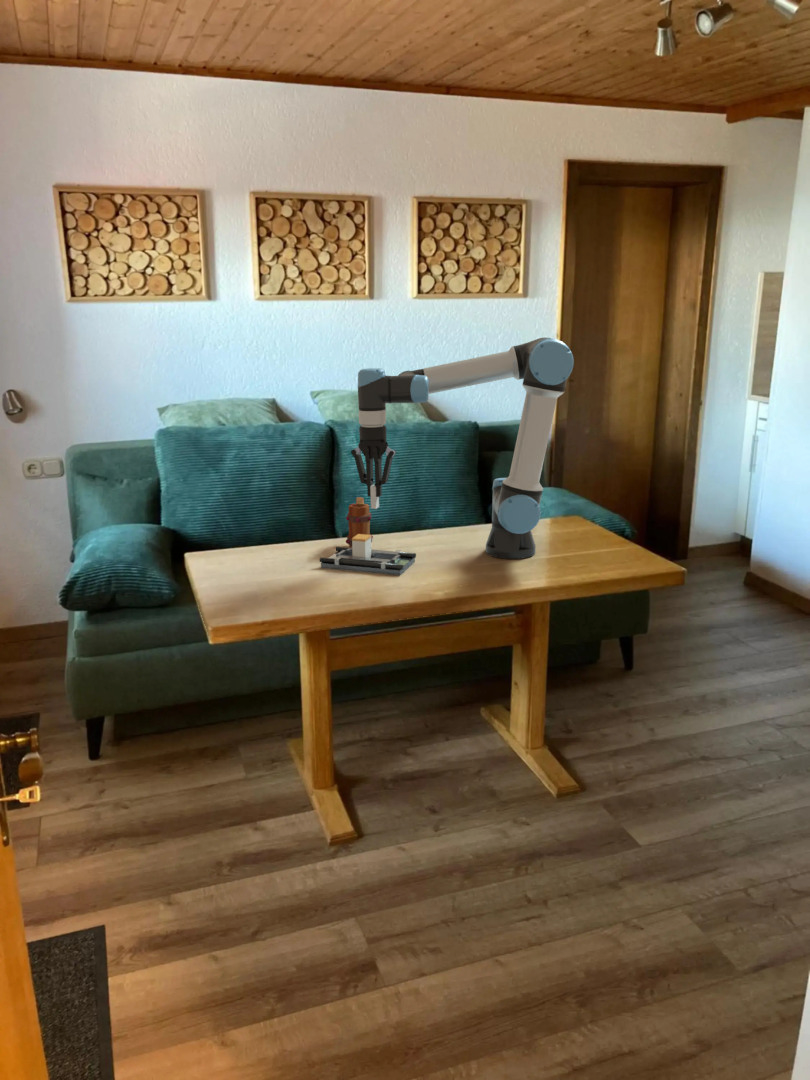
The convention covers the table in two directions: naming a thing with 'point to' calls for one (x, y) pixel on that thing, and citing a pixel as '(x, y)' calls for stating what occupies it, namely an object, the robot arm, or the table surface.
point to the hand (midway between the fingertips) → (375, 507)
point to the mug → (358, 520)
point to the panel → (369, 569)
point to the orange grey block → (361, 546)
